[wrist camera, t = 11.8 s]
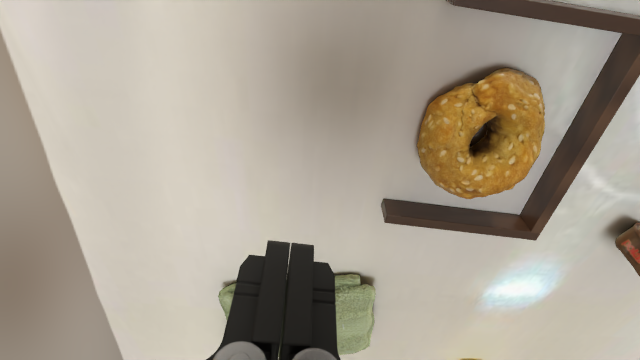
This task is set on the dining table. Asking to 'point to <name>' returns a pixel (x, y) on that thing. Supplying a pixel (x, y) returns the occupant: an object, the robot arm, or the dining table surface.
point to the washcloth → (339, 312)
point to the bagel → (496, 146)
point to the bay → (585, 131)
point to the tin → (631, 246)
